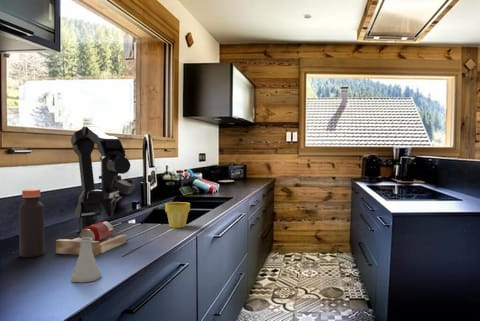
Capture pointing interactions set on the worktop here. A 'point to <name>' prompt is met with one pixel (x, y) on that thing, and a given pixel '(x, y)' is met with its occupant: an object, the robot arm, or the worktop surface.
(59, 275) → the worktop surface
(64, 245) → the rest
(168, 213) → the plant pot
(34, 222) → the bottle
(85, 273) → the flask
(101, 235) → the soda can
